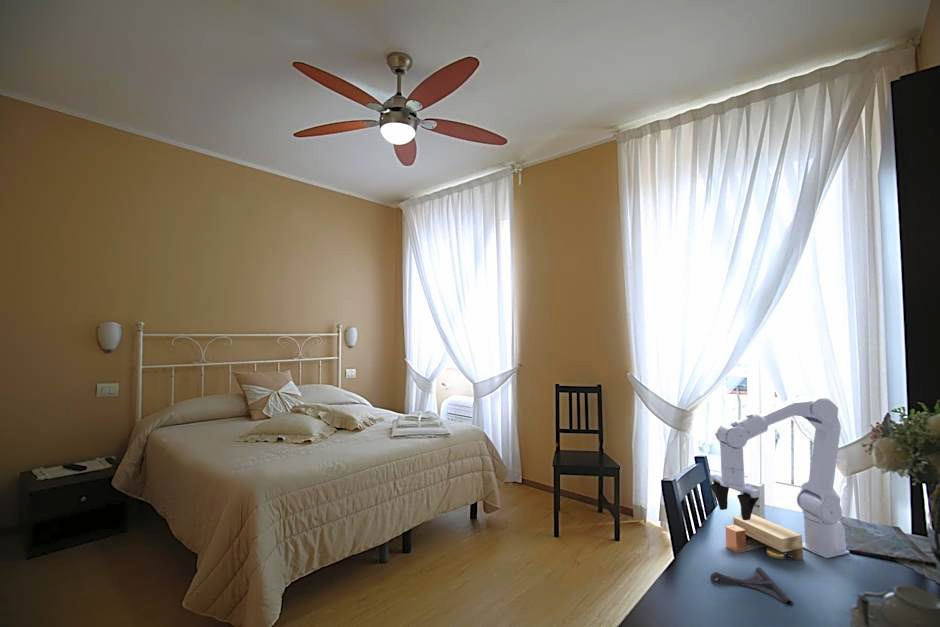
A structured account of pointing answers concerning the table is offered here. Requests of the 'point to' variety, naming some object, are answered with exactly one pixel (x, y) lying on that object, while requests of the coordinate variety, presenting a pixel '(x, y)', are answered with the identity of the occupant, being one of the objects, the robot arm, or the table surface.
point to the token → (775, 553)
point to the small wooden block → (740, 540)
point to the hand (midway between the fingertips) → (734, 514)
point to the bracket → (755, 584)
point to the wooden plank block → (772, 535)
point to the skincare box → (760, 504)
